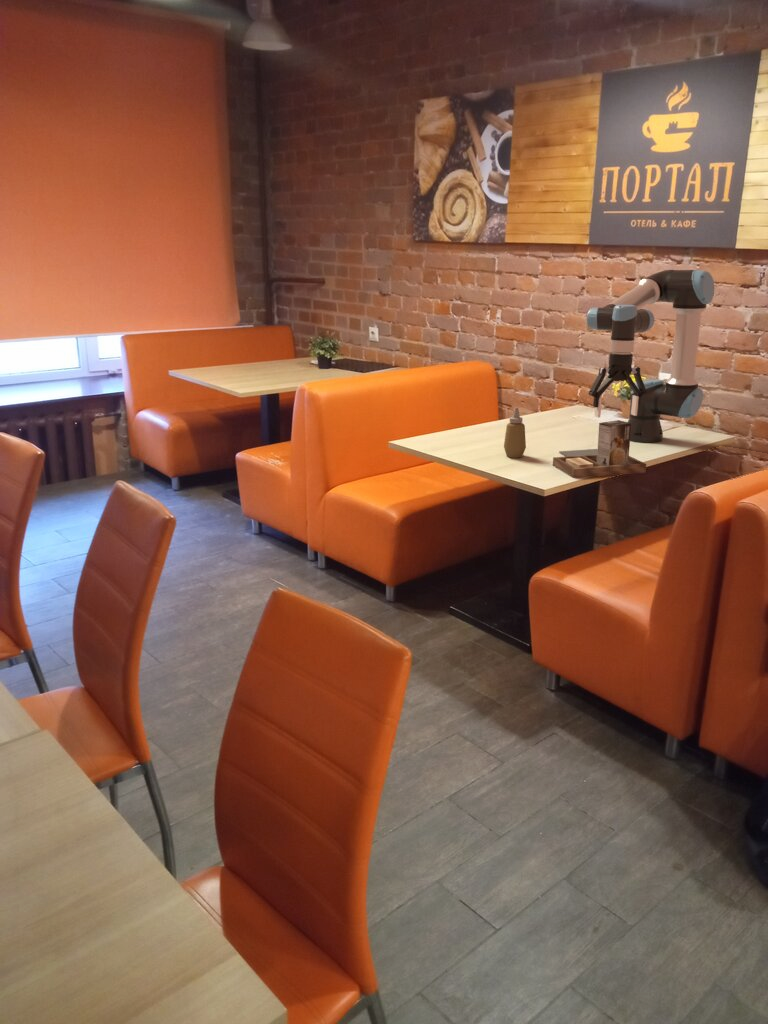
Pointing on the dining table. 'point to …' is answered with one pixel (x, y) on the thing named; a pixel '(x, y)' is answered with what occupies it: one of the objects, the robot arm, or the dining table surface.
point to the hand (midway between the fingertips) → (615, 416)
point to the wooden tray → (598, 467)
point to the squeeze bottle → (515, 436)
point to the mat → (579, 452)
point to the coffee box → (613, 443)
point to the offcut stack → (579, 462)
